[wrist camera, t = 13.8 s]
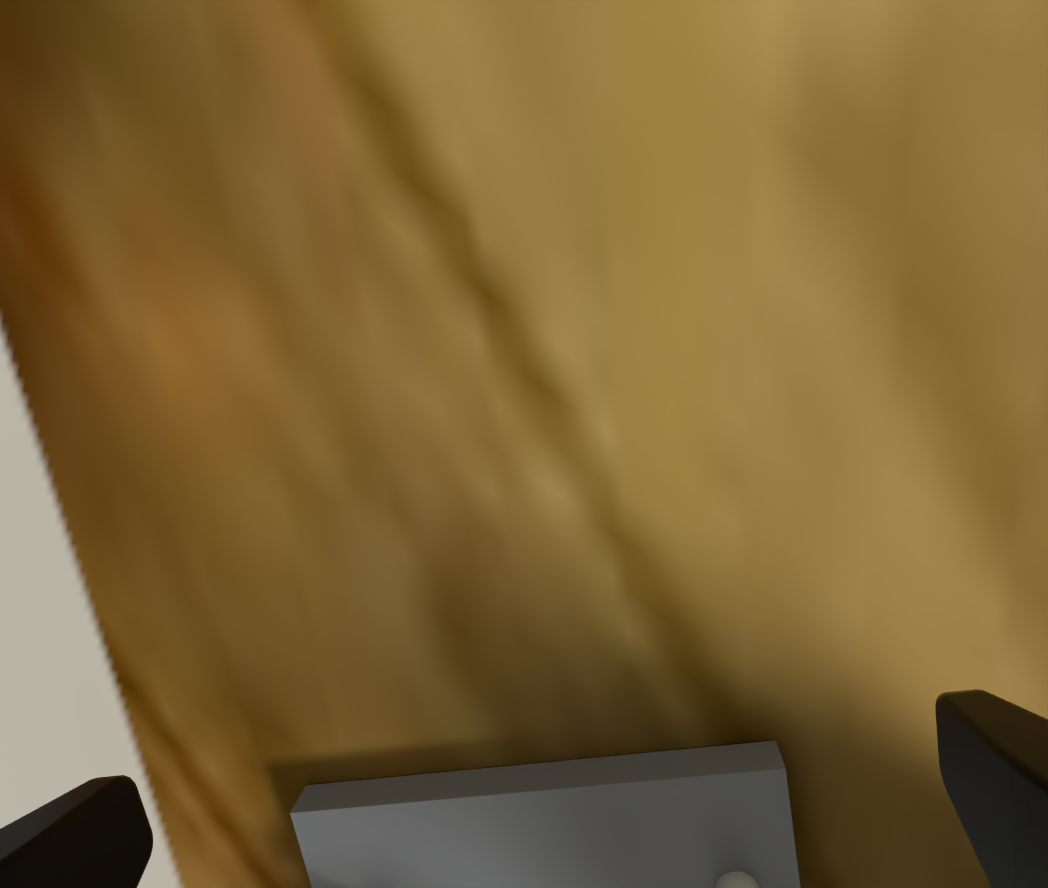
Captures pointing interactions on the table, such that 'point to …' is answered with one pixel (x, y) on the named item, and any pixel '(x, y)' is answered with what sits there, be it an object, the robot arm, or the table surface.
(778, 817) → the standoff plate
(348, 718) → the table surface
